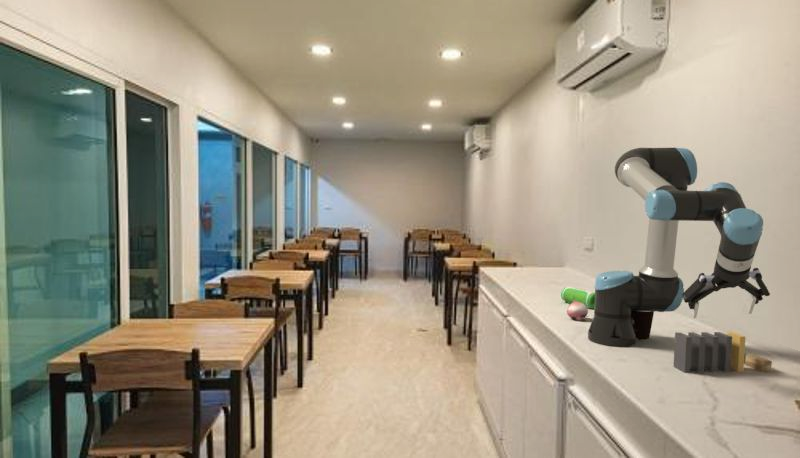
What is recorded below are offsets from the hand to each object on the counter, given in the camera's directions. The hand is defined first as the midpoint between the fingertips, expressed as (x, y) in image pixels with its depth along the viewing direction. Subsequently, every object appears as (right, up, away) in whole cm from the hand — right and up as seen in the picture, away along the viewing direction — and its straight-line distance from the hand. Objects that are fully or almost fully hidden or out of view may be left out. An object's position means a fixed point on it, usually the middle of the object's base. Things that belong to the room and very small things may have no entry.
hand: (720, 311), depth 144 cm
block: (+15, -17, +6) cm, 23 cm away
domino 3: (-1, -17, +5) cm, 18 cm away
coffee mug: (-5, -15, +39) cm, 42 cm away
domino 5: (+7, -17, +5) cm, 19 cm away
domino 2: (-5, -17, +4) cm, 18 cm away
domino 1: (-9, -17, +4) cm, 19 cm away
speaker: (-8, -12, +90) cm, 91 cm away
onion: (-18, -13, +63) cm, 67 cm away
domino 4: (+3, -17, +5) cm, 18 cm away
